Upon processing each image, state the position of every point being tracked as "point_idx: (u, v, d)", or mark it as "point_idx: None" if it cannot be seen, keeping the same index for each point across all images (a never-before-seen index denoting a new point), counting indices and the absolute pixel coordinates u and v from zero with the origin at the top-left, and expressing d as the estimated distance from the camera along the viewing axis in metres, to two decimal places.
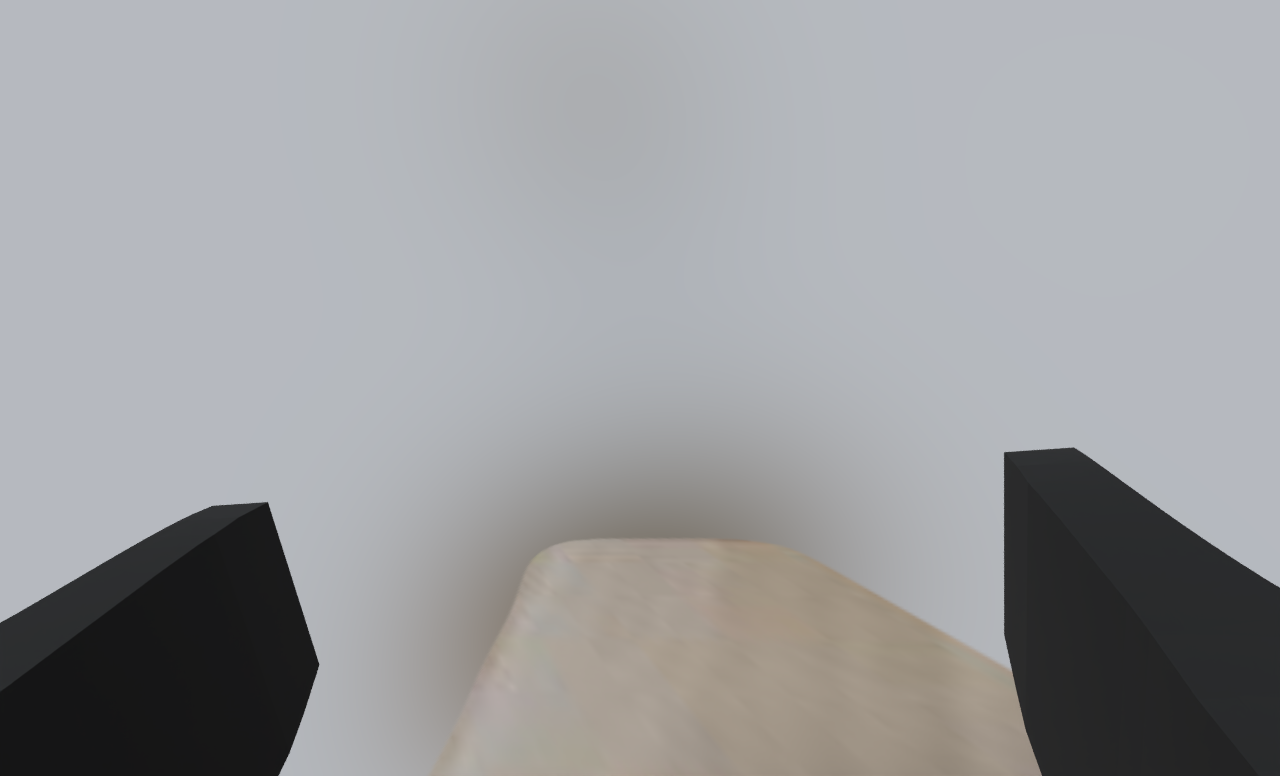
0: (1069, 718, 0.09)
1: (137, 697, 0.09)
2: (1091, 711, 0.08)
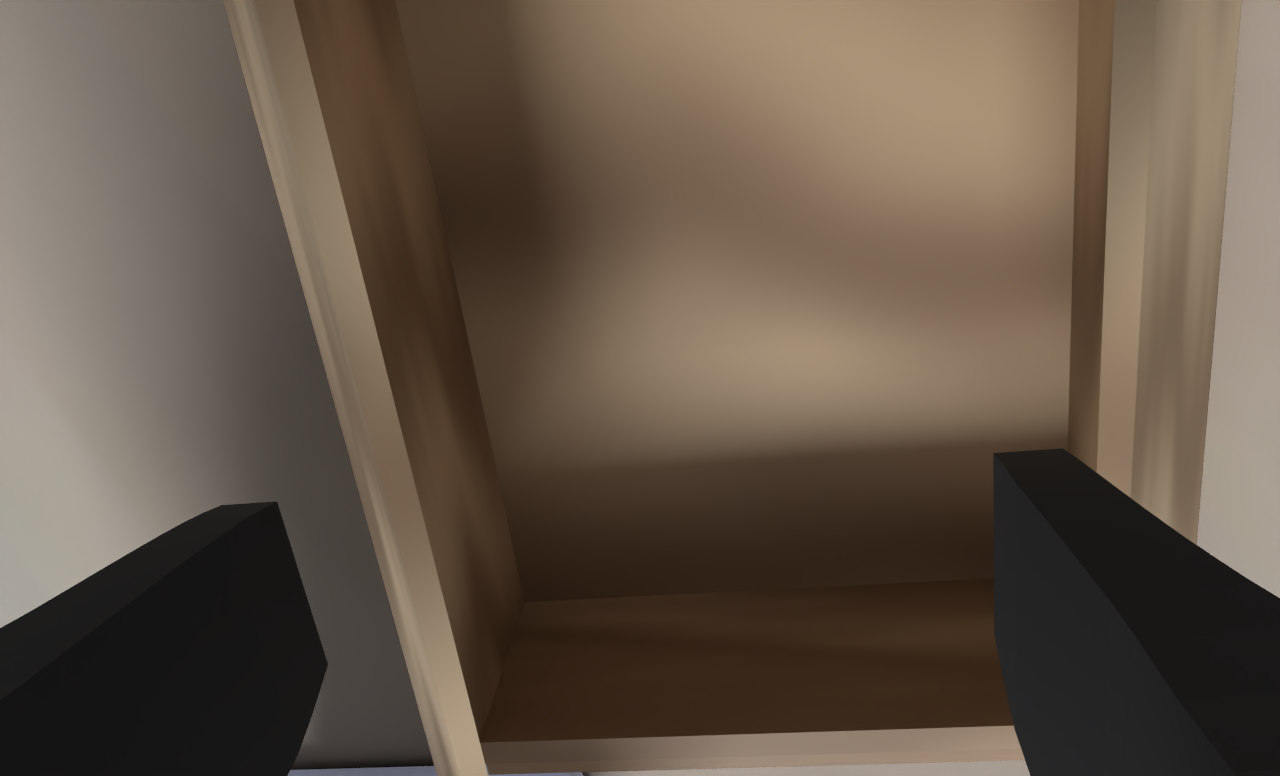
0: (1056, 718, 0.09)
1: (148, 696, 0.09)
2: (1077, 711, 0.08)
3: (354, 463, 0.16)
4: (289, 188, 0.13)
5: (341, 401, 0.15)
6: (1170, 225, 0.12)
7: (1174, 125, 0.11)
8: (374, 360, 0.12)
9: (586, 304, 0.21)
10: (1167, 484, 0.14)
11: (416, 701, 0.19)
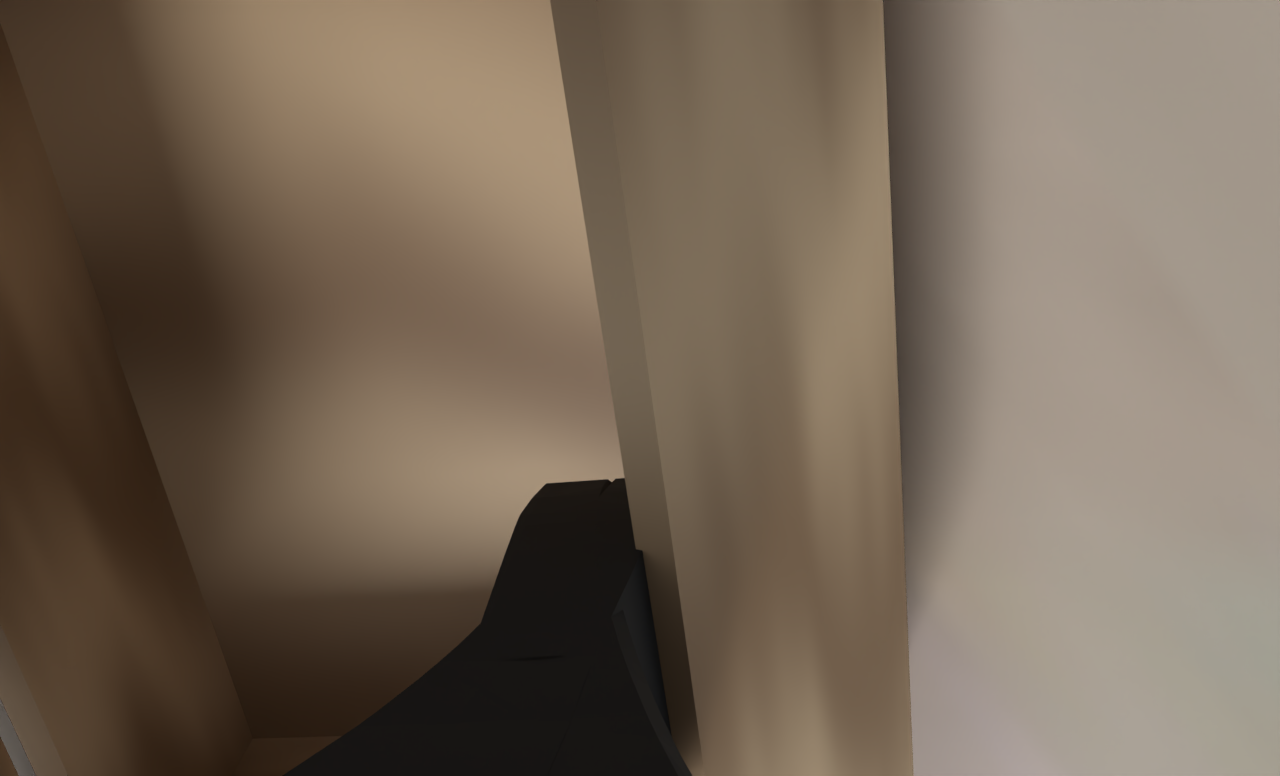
0: None
1: None
2: None
3: None
4: None
5: None
6: (741, 431, 0.09)
7: (719, 311, 0.08)
8: None
9: (279, 418, 0.18)
10: (814, 720, 0.11)
11: None
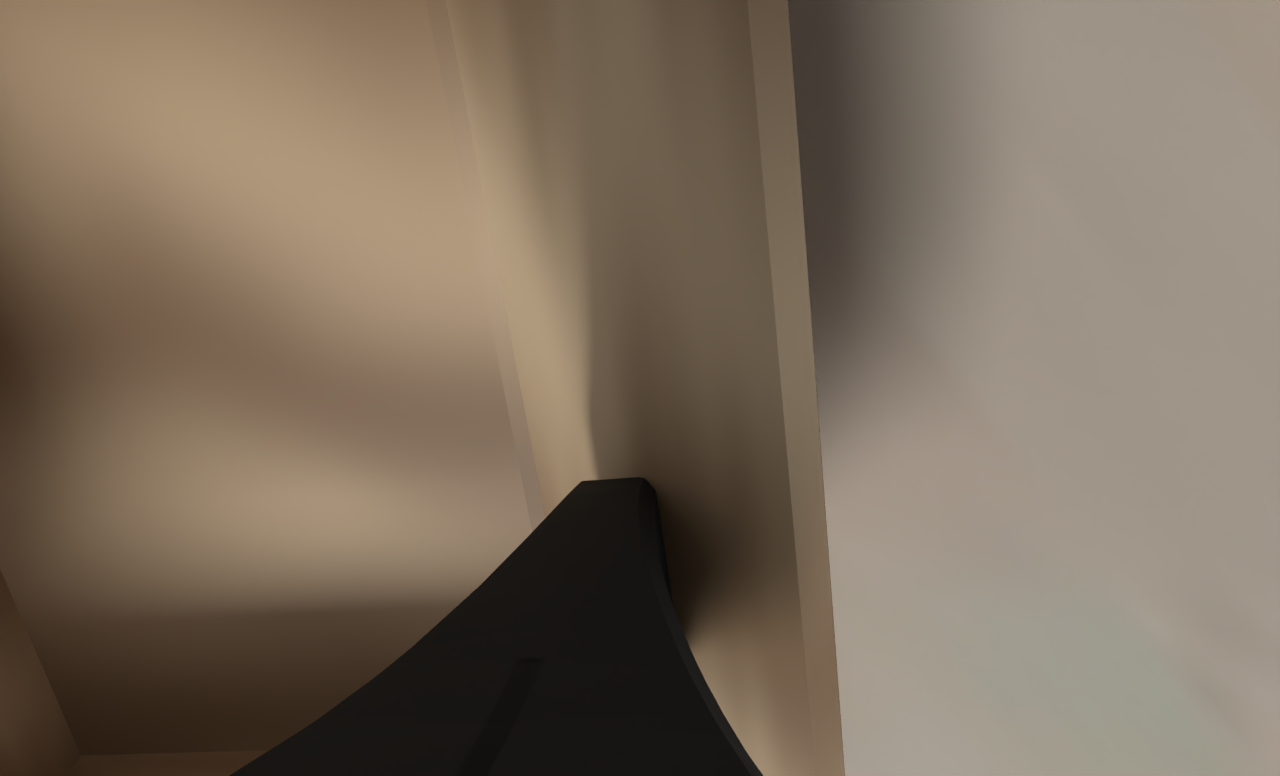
0: None
1: None
2: None
3: None
4: None
5: None
6: None
7: None
8: None
9: (78, 447, 0.18)
10: None
11: None
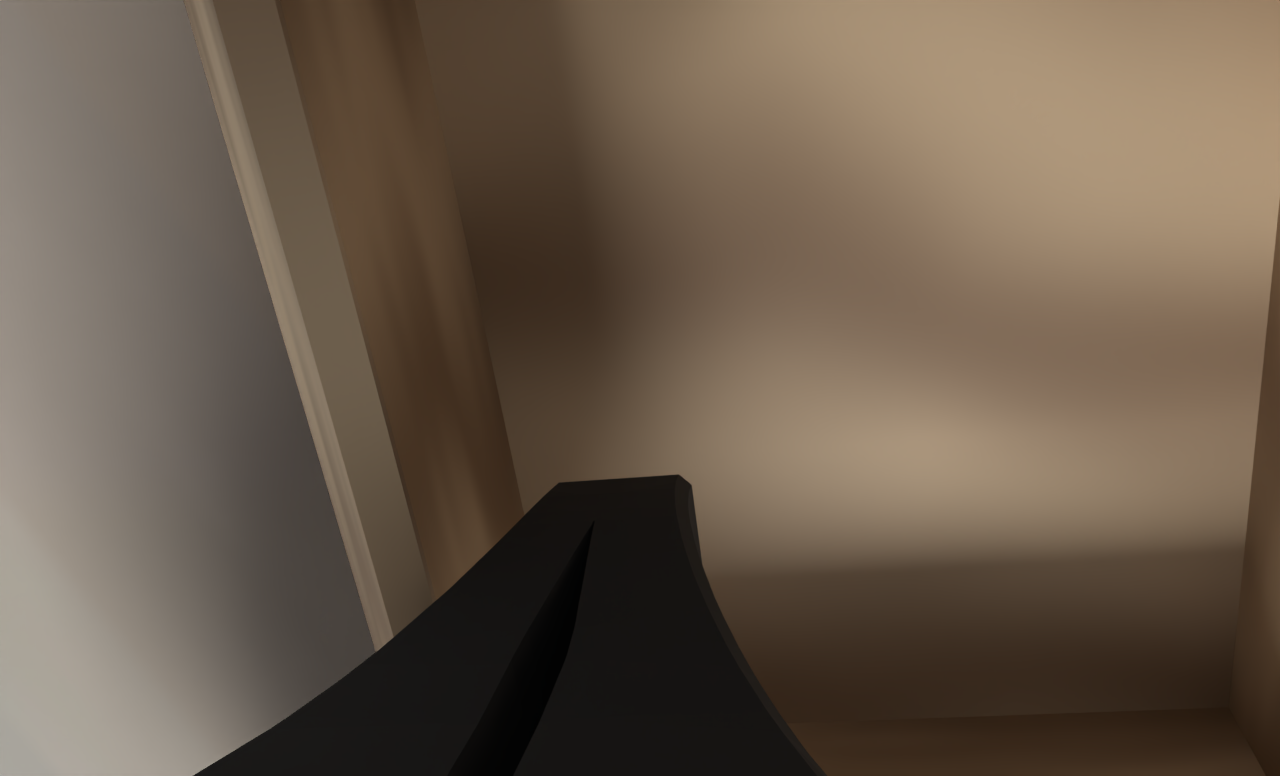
0: None
1: None
2: None
3: (371, 627, 0.12)
4: (282, 295, 0.09)
5: (355, 560, 0.11)
6: None
7: None
8: (405, 551, 0.09)
9: (651, 389, 0.17)
10: None
11: None
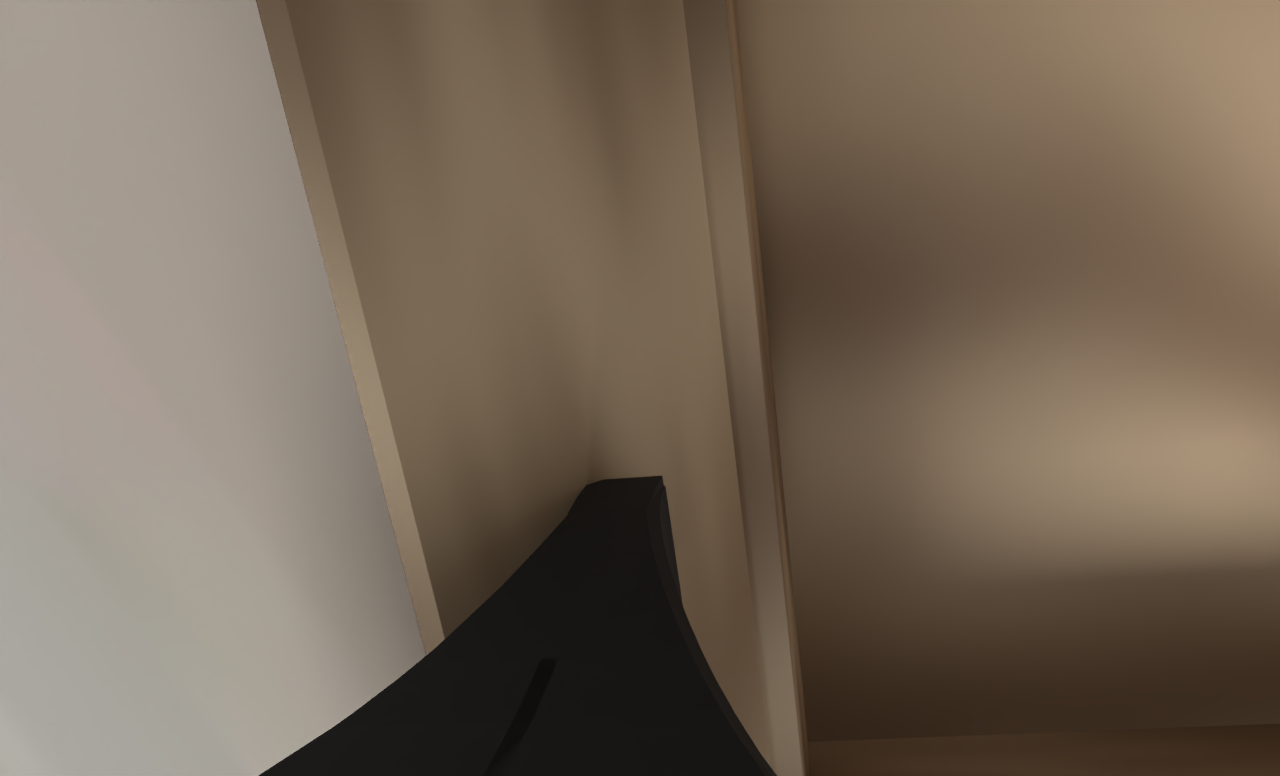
0: None
1: None
2: None
3: None
4: None
5: None
6: None
7: None
8: (424, 567, 0.09)
9: (934, 392, 0.17)
10: None
11: None
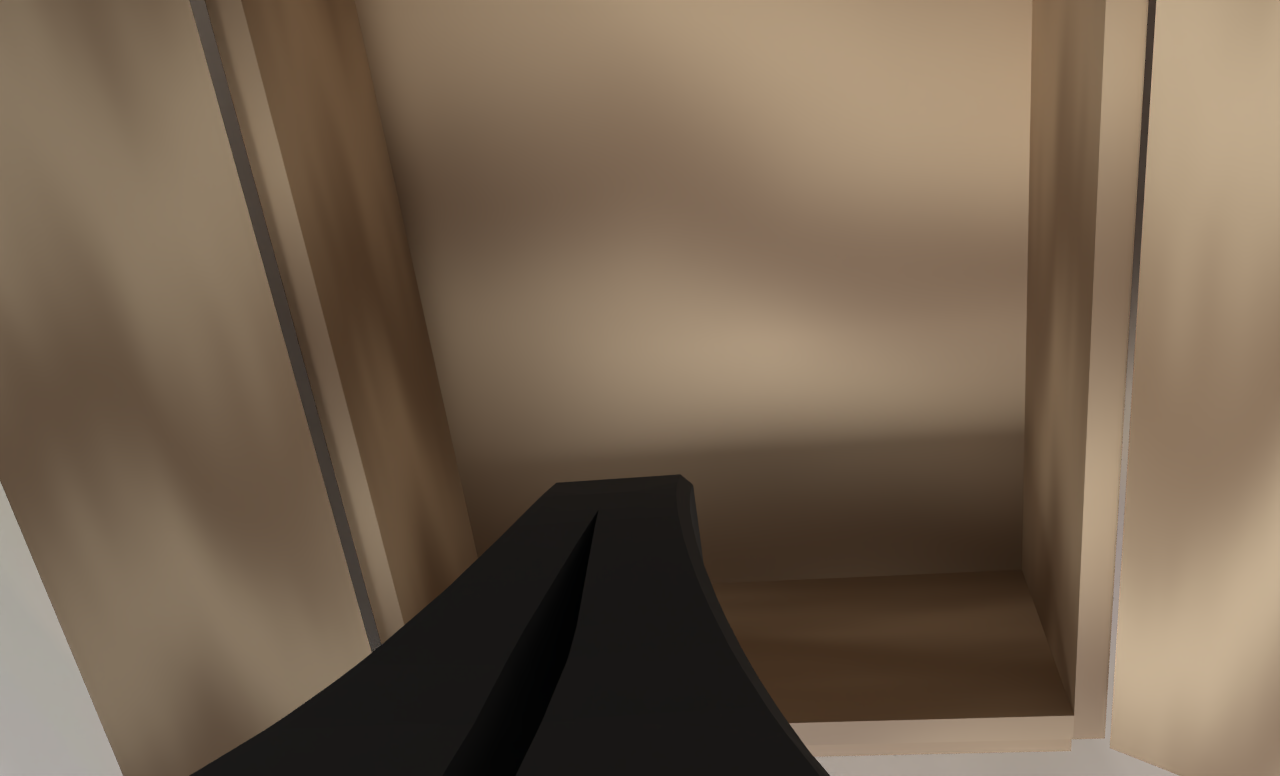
0: None
1: None
2: None
3: None
4: None
5: None
6: None
7: None
8: None
9: (544, 296, 0.21)
10: None
11: None
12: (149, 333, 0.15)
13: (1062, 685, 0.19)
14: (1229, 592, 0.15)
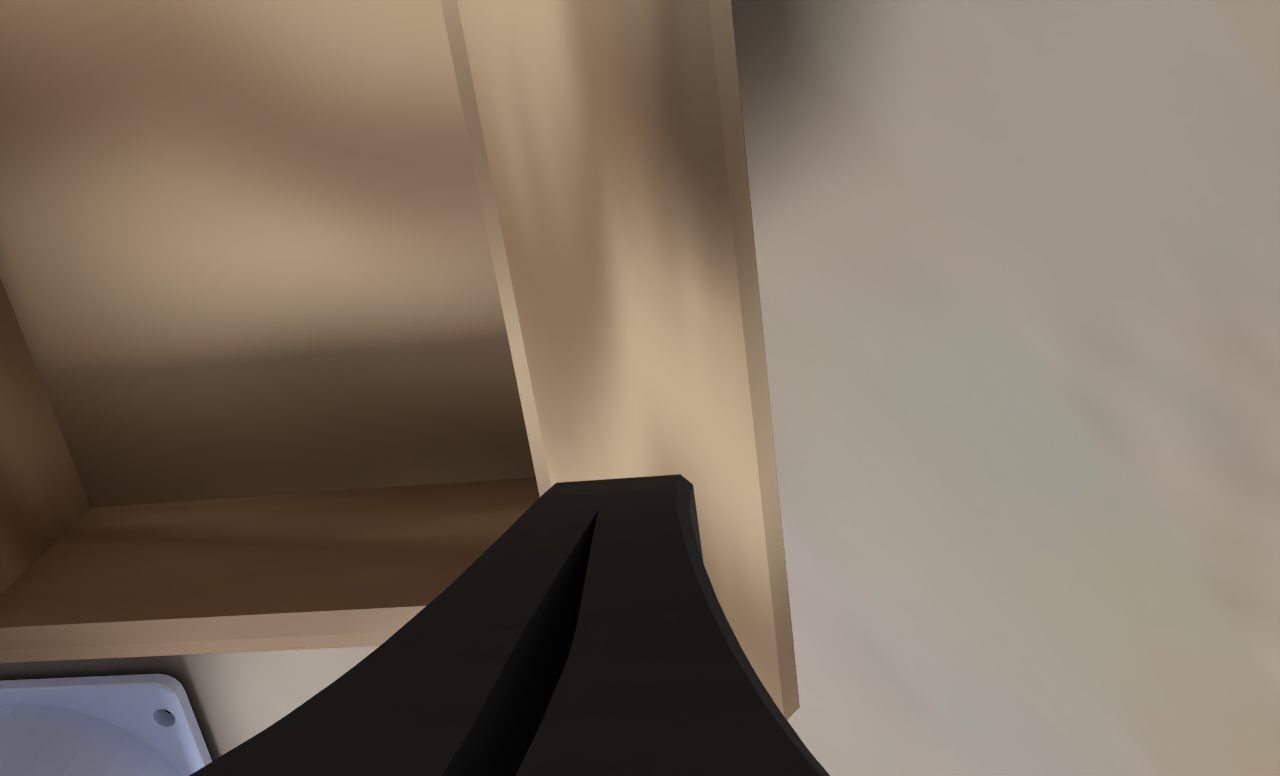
0: None
1: None
2: None
3: None
4: None
5: None
6: None
7: None
8: None
9: (87, 198, 0.21)
10: None
11: None
12: None
13: None
14: (612, 452, 0.15)
